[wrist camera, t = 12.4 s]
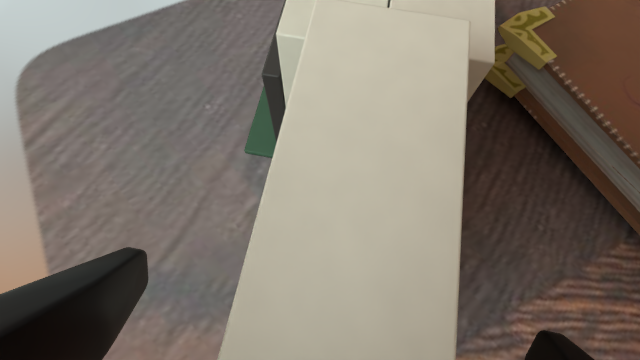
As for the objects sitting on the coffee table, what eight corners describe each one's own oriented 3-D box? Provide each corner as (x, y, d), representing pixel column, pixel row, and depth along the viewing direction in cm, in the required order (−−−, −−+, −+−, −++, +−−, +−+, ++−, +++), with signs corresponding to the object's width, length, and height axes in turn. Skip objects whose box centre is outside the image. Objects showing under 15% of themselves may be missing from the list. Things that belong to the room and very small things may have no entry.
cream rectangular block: (356, 366, 13) (452, 469, 4) (279, 349, 14) (202, 412, 4) (380, 195, 16) (472, 19, 7) (314, 183, 16) (315, -6, 7)
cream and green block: (458, 192, 16) (582, 80, 9) (245, 153, 17) (189, 17, 9) (465, 49, 19) (560, -123, 12) (285, 20, 20) (267, -162, 12)
